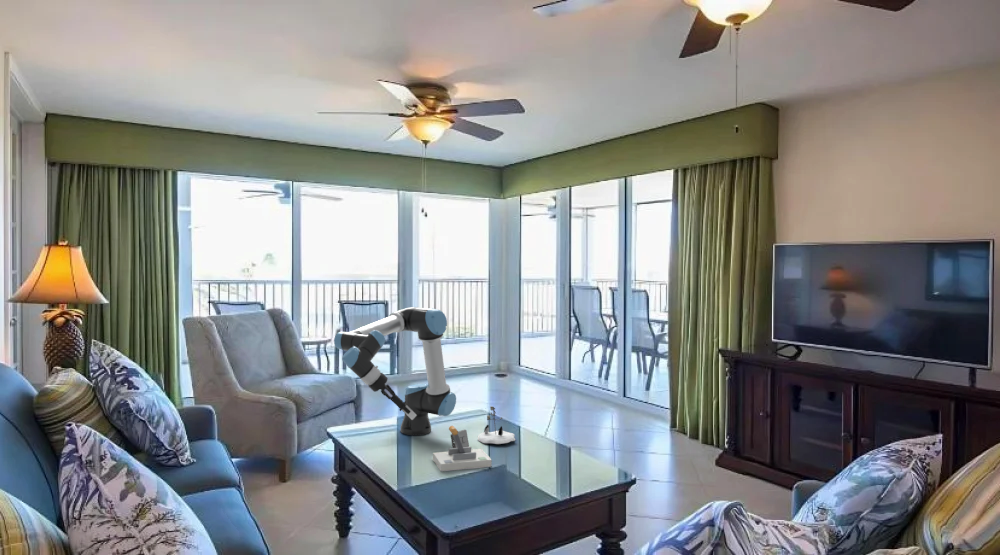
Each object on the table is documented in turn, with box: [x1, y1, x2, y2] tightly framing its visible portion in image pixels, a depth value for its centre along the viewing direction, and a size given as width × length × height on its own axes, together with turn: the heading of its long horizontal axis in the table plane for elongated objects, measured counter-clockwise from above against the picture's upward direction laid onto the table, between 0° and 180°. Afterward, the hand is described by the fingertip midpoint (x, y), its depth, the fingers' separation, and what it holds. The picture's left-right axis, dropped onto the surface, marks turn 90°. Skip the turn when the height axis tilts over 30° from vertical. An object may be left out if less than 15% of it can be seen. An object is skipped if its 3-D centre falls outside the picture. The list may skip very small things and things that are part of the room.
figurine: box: [477, 406, 516, 445], centre depth 282 cm, size 20×18×16 cm
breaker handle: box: [448, 425, 465, 453], centre depth 248 cm, size 6×2×13 cm, turn 20°
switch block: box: [432, 446, 493, 472], centre depth 249 cm, size 14×22×5 cm, turn 110°
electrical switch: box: [450, 429, 470, 448], centre depth 267 cm, size 8×5×8 cm, turn 141°
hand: (414, 417), depth 241 cm, fingers closed
